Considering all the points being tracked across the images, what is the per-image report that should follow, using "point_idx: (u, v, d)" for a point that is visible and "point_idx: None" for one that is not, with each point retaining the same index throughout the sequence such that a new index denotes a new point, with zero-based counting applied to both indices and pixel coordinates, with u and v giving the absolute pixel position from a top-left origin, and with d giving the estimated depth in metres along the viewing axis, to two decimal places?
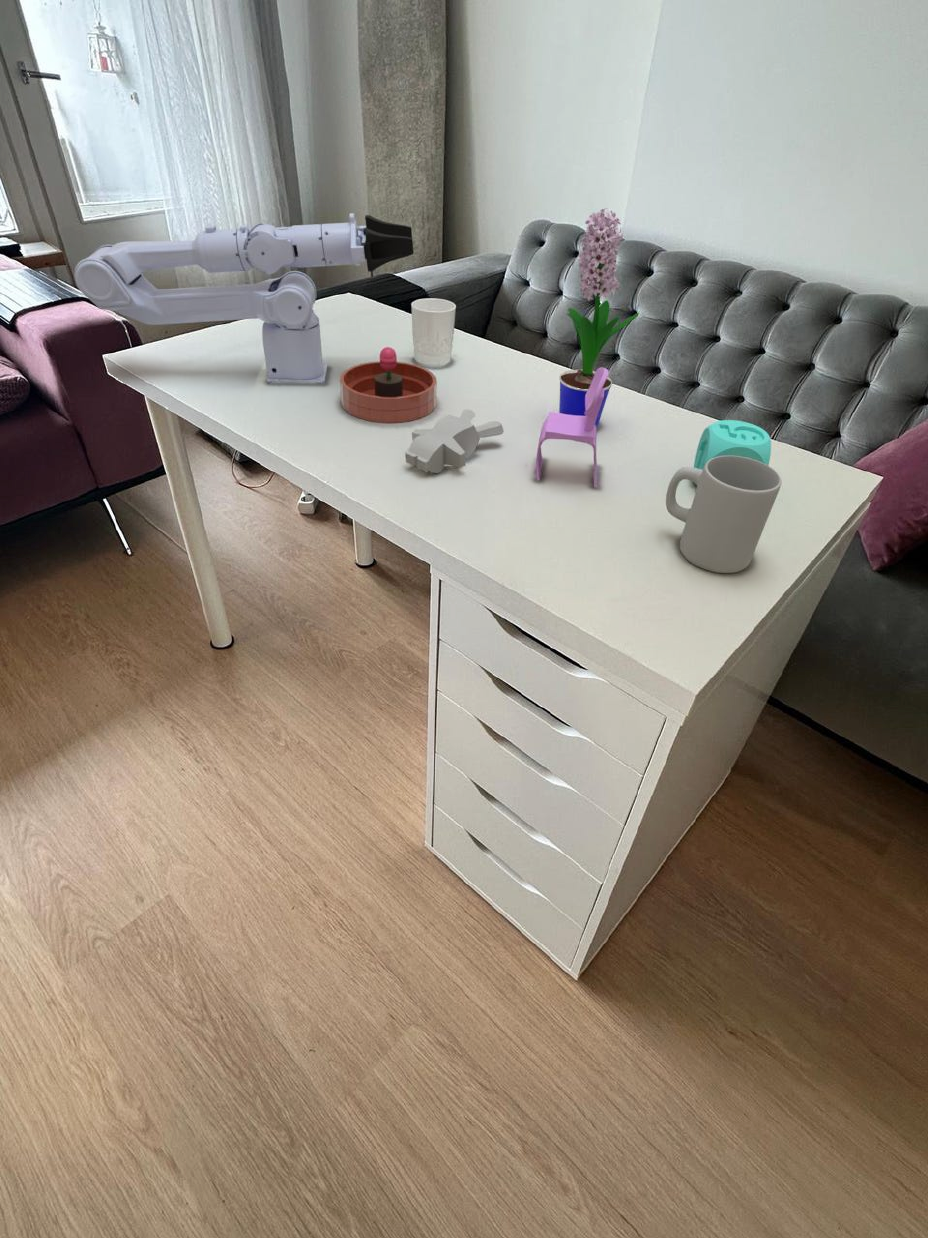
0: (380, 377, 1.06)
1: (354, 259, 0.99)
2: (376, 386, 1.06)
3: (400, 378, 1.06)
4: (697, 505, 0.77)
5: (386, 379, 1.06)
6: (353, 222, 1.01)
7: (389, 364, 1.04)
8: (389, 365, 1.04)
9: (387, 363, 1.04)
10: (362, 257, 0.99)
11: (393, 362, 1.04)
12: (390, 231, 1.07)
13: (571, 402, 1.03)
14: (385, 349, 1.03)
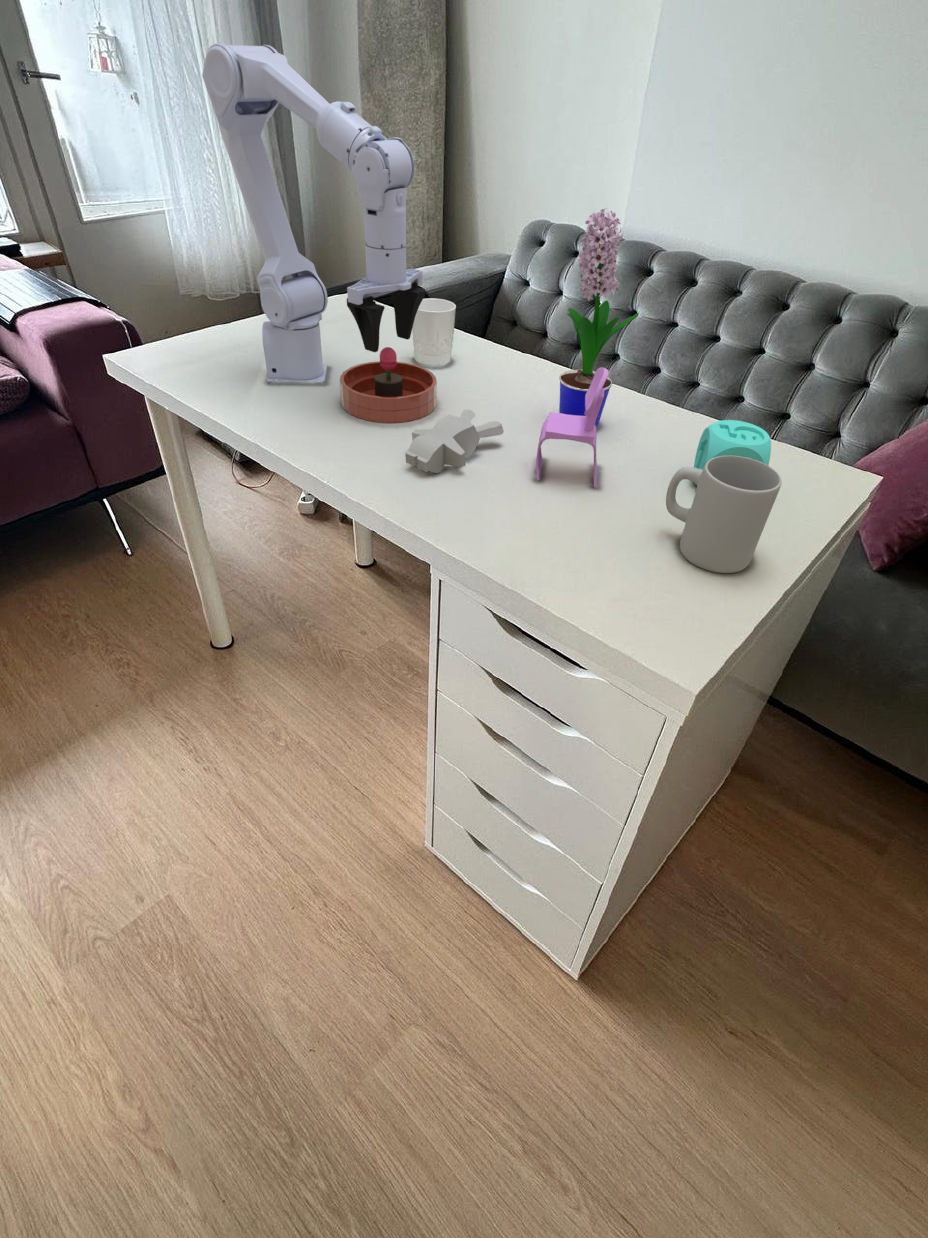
0: (380, 377, 1.06)
1: (349, 290, 0.93)
2: (376, 386, 1.06)
3: (400, 378, 1.06)
4: (697, 505, 0.77)
5: (386, 379, 1.06)
6: (397, 288, 0.95)
7: (389, 364, 1.04)
8: (389, 365, 1.04)
9: (387, 363, 1.04)
10: (350, 300, 0.94)
11: (393, 362, 1.04)
12: (406, 316, 1.03)
13: (571, 402, 1.03)
14: (385, 349, 1.03)
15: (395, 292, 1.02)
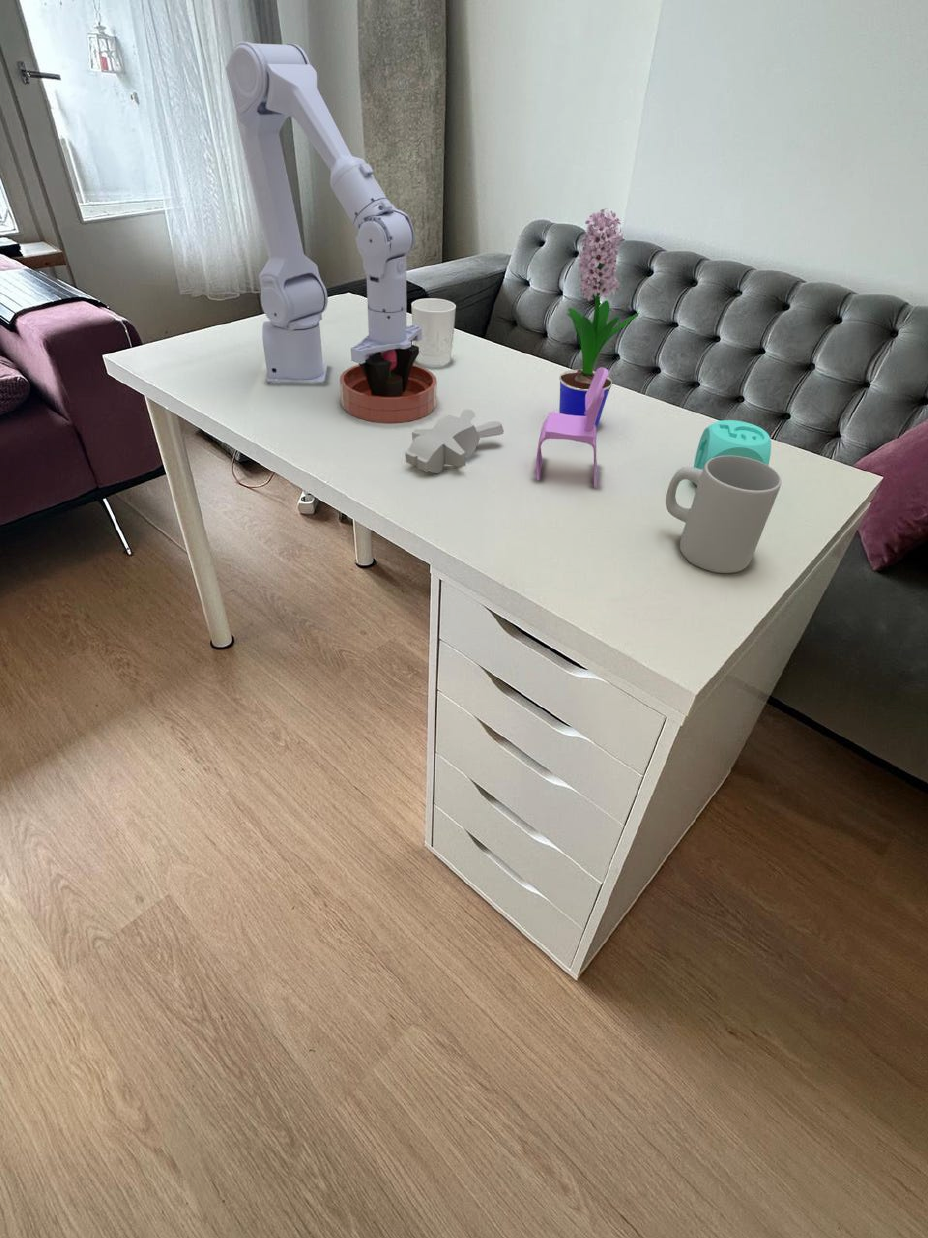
0: None
1: (352, 351, 0.98)
2: None
3: (400, 378, 1.06)
4: (697, 505, 0.77)
5: None
6: (398, 347, 1.01)
7: None
8: None
9: None
10: (353, 359, 0.99)
11: (393, 362, 1.04)
12: (401, 371, 1.07)
13: (571, 402, 1.03)
14: None
15: None
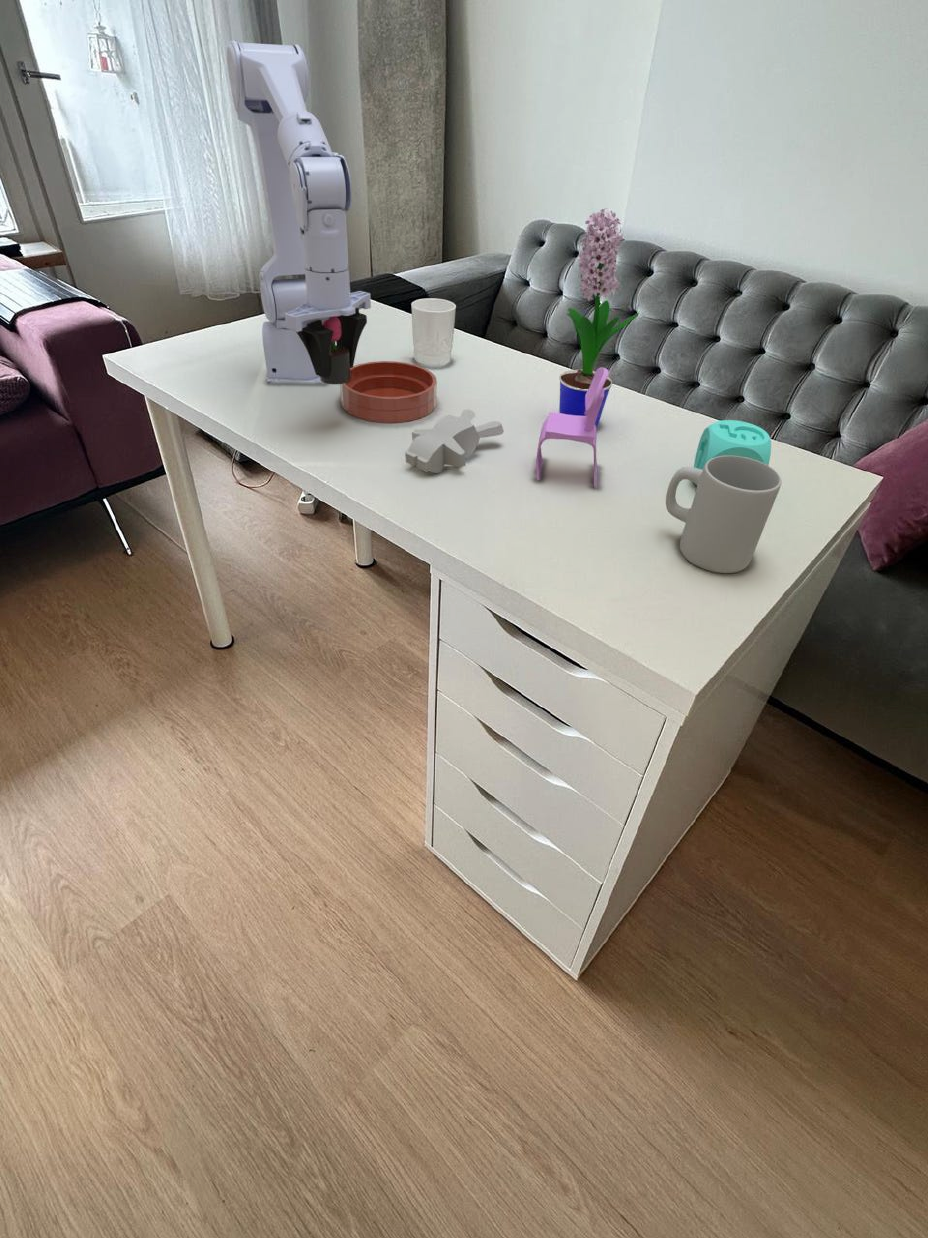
0: None
1: (286, 317, 0.86)
2: None
3: (346, 351, 0.95)
4: (697, 505, 0.77)
5: (330, 351, 0.94)
6: (340, 313, 0.89)
7: (333, 334, 0.92)
8: None
9: None
10: (288, 327, 0.87)
11: (337, 332, 0.92)
12: (347, 343, 0.96)
13: (571, 402, 1.03)
14: None
15: None
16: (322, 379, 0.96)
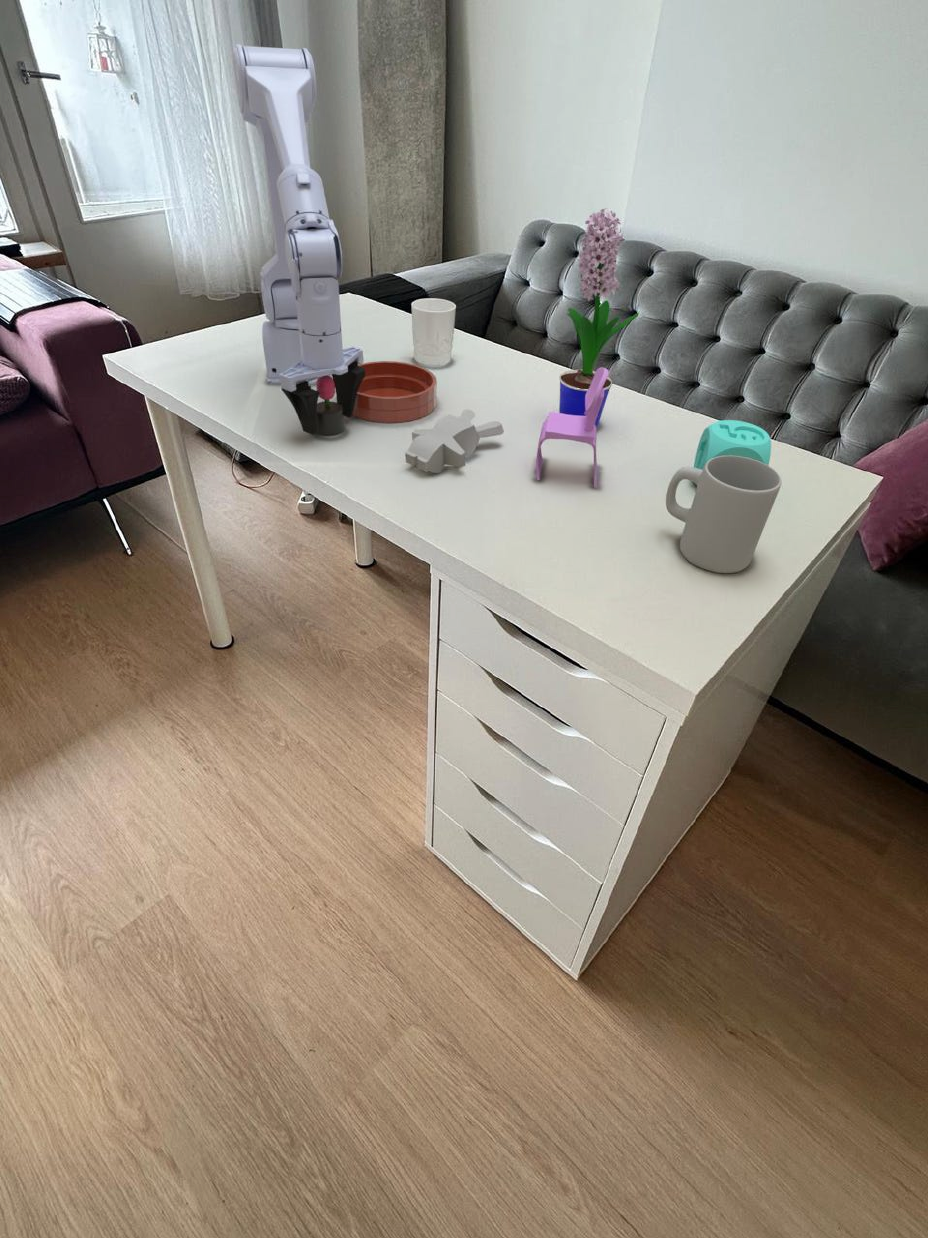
0: (318, 406, 0.98)
1: (281, 377, 0.90)
2: None
3: (340, 407, 0.98)
4: (697, 505, 0.77)
5: (324, 409, 0.98)
6: (333, 372, 0.92)
7: (326, 393, 0.96)
8: (326, 394, 0.96)
9: (324, 392, 0.96)
10: (283, 386, 0.91)
11: (331, 391, 0.96)
12: (346, 395, 1.00)
13: (571, 402, 1.03)
14: (321, 377, 0.95)
15: None
16: None
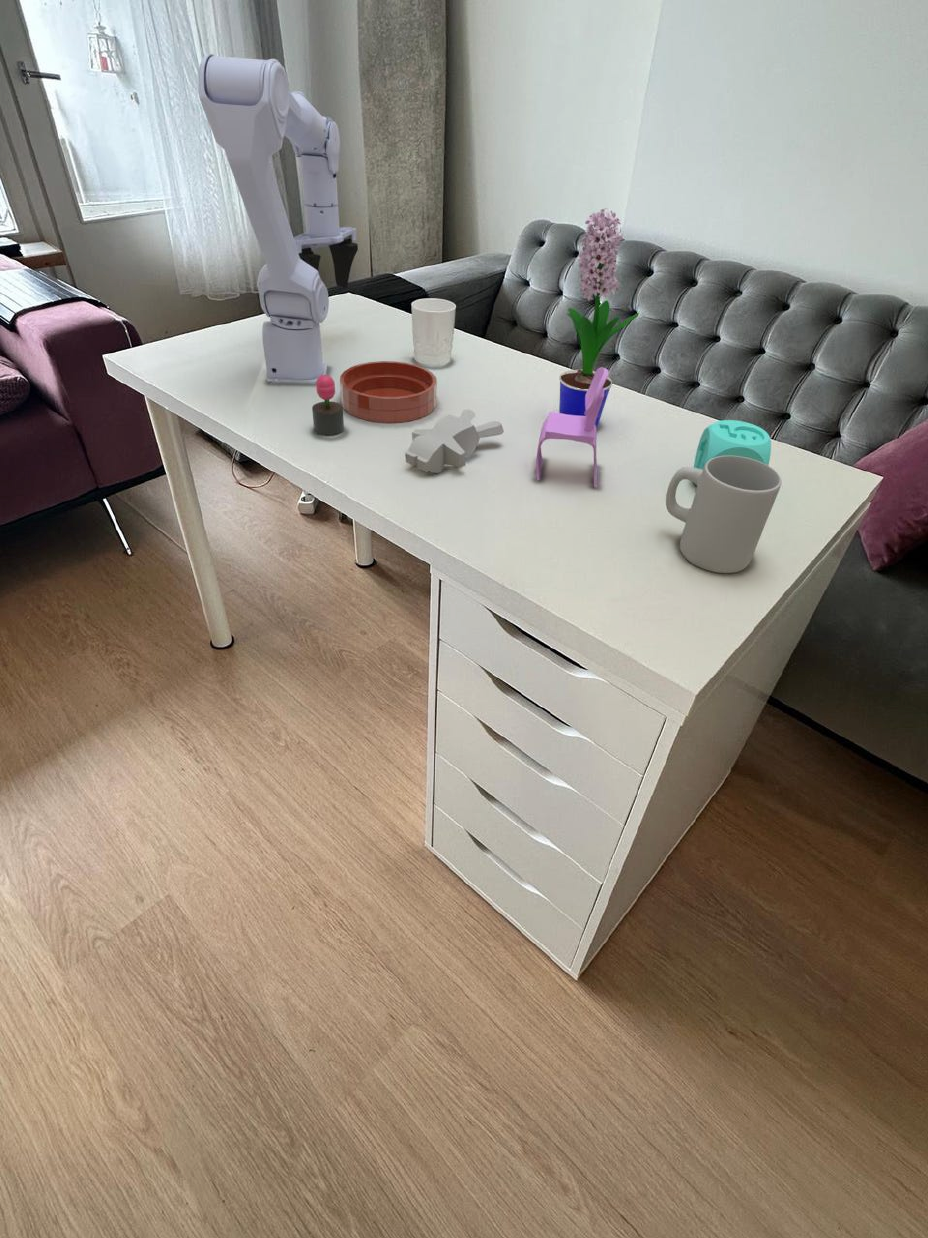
0: (318, 406, 0.98)
1: None
2: (314, 416, 0.98)
3: (340, 407, 0.98)
4: (697, 505, 0.77)
5: (324, 409, 0.98)
6: (331, 240, 1.14)
7: (326, 393, 0.96)
8: (326, 394, 0.96)
9: (324, 392, 0.96)
10: None
11: (331, 391, 0.96)
12: (342, 267, 1.22)
13: (571, 402, 1.03)
14: (321, 377, 0.95)
15: (333, 246, 1.21)
16: None
